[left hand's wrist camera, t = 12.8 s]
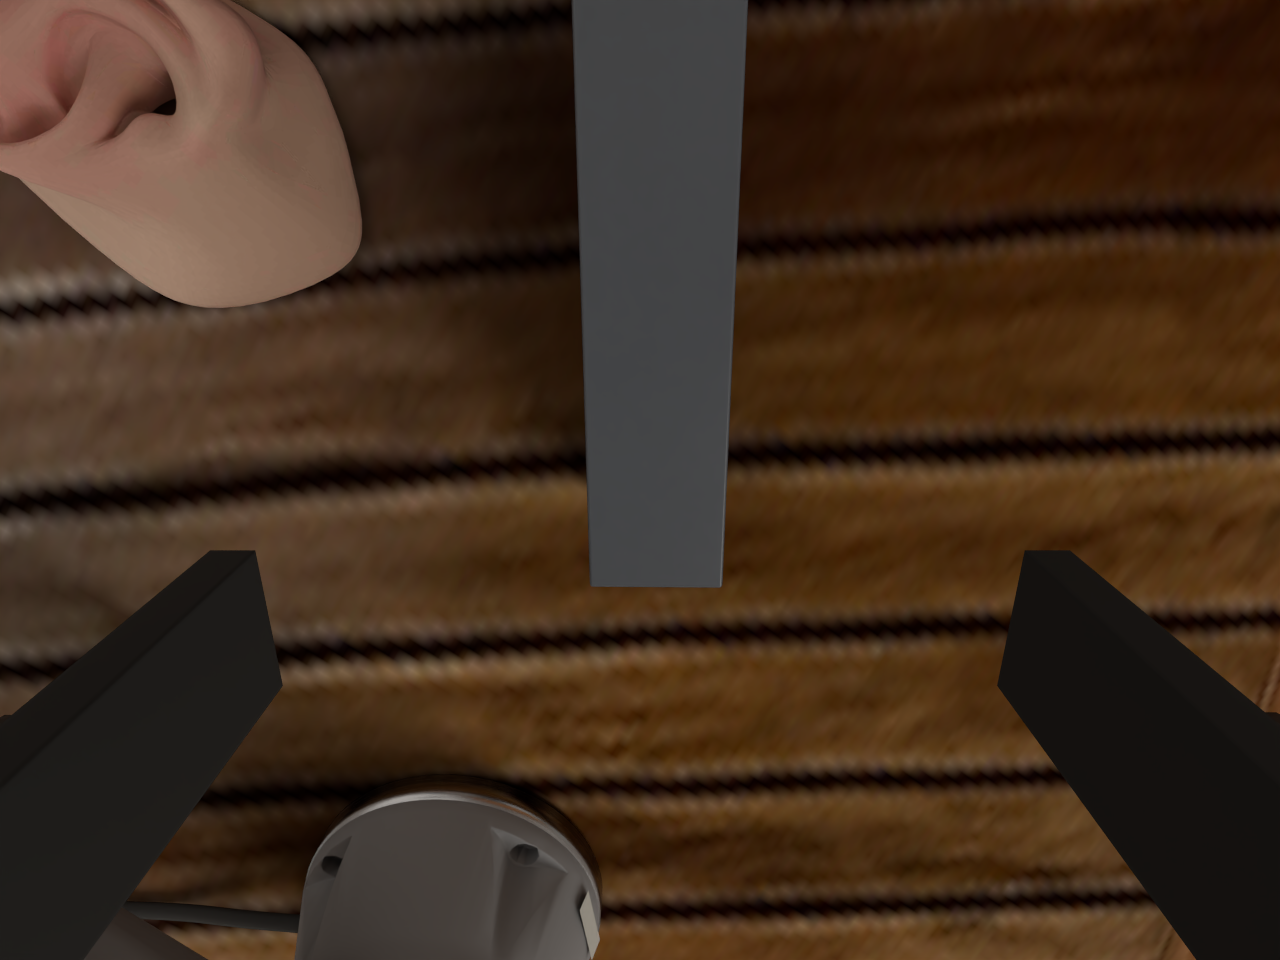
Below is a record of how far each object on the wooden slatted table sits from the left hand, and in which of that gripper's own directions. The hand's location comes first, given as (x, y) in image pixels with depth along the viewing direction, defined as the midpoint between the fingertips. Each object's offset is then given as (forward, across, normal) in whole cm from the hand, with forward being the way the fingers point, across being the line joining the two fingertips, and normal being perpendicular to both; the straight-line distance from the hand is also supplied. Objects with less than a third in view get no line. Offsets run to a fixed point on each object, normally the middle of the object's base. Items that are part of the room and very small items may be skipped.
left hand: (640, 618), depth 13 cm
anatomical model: (+18, +16, -9) cm, 26 cm away
